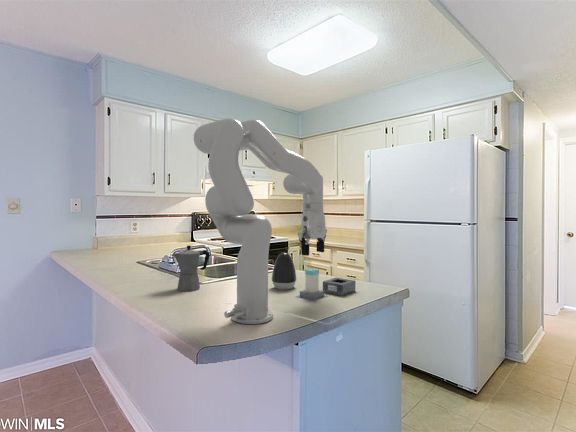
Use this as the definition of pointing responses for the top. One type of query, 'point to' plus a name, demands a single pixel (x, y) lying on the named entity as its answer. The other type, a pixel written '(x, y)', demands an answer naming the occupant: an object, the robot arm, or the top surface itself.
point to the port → (339, 286)
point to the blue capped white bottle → (312, 280)
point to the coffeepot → (189, 268)
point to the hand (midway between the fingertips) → (313, 253)
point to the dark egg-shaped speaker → (284, 272)
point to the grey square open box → (312, 295)
